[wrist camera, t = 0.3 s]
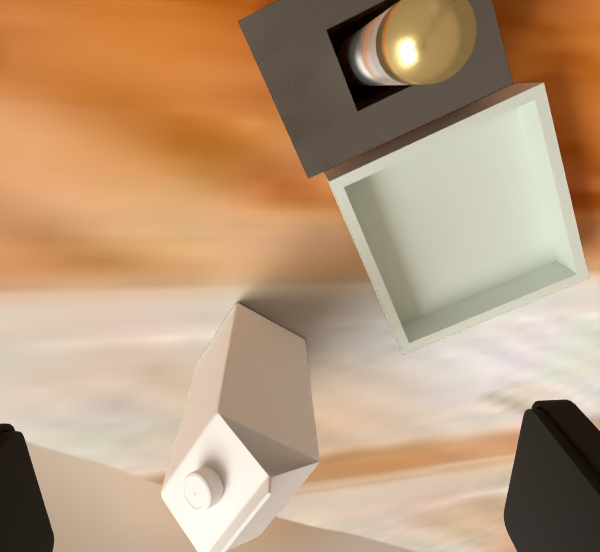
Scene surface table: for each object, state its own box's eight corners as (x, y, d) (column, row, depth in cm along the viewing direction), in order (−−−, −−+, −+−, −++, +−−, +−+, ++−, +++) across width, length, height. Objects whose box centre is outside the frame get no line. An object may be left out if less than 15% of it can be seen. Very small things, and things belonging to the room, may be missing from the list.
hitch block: (433, -64, 31) (467, -97, 26) (475, 84, 35) (513, 83, 29) (244, 32, 33) (238, 21, 27) (303, 164, 36) (308, 178, 31)
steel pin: (377, 21, 33) (461, -33, 18) (394, 72, 34) (487, 60, 19) (330, 45, 33) (375, 10, 18) (349, 94, 35) (405, 99, 20)
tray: (515, 83, 35) (543, 82, 31) (560, 261, 40) (589, 278, 37) (323, 172, 37) (328, 181, 33) (391, 331, 42) (403, 354, 38)
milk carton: (305, 338, 42) (328, 518, 24) (264, 395, 44) (257, 599, 26) (236, 300, 40) (207, 465, 23) (197, 361, 42) (141, 555, 25)
